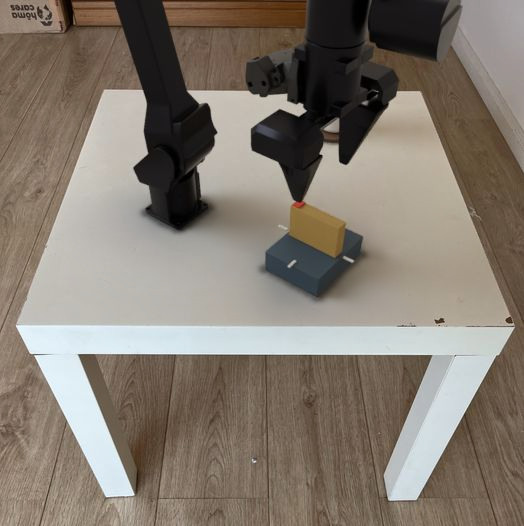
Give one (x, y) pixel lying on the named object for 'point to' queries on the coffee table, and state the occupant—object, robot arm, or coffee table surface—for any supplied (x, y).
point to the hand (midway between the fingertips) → (321, 181)
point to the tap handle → (317, 228)
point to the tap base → (310, 261)
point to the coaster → (331, 137)
